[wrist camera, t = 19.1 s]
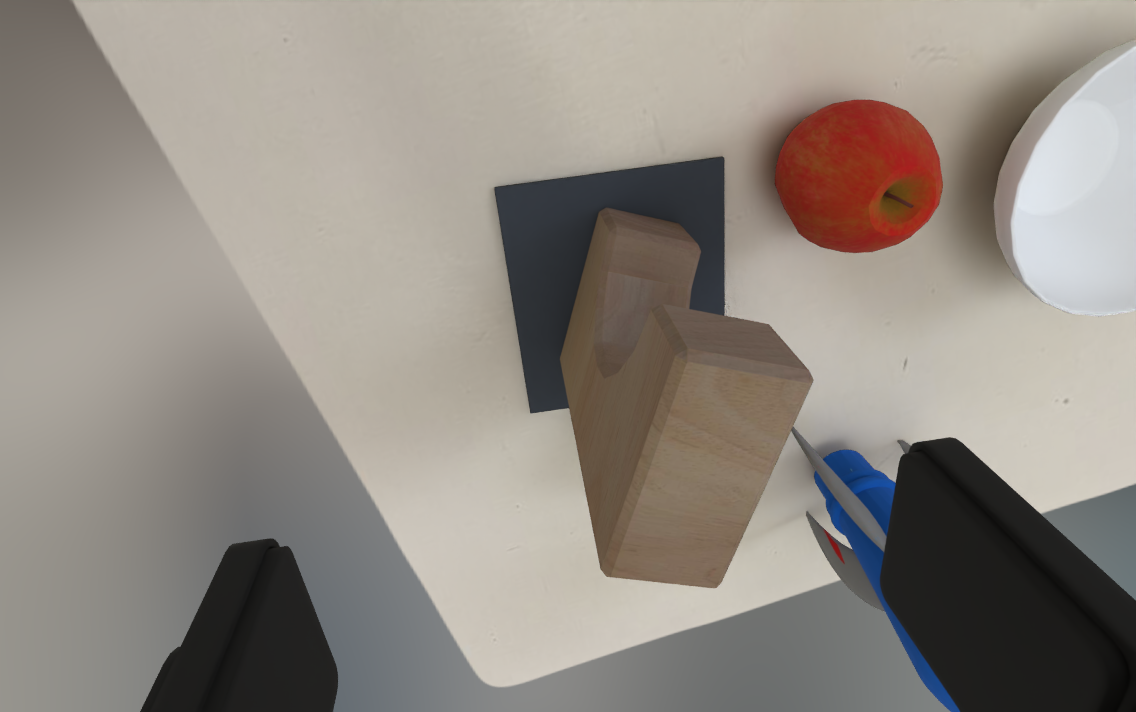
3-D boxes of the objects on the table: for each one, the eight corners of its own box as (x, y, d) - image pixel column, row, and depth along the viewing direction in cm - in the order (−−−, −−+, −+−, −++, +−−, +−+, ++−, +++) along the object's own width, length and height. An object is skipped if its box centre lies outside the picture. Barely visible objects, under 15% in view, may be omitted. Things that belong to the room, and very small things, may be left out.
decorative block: (600, 203, 41) (682, 348, 23) (686, 223, 42) (826, 377, 24) (555, 360, 46) (594, 581, 28) (633, 375, 47) (720, 596, 29)
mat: (530, 410, 48) (530, 413, 47) (494, 186, 40) (494, 188, 40) (723, 382, 48) (724, 385, 48) (722, 156, 41) (724, 157, 40)
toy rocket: (778, 416, 50) (1002, 736, 28) (903, 376, 50) (1234, 671, 27) (799, 520, 55) (1003, 862, 33) (913, 485, 55) (1199, 808, 32)
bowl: (1233, 111, 43) (1359, 128, 36) (1043, 314, 48) (1125, 358, 42) (1077, -39, 38) (1192, -49, 32) (886, 206, 43) (952, 238, 37)
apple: (725, 171, 41) (794, 218, 32) (825, 58, 39) (932, 72, 29) (810, 249, 44) (896, 314, 35) (908, 149, 42) (1030, 189, 32)
